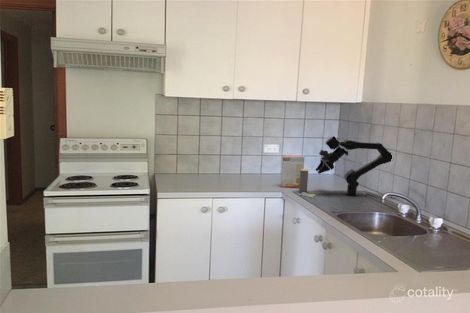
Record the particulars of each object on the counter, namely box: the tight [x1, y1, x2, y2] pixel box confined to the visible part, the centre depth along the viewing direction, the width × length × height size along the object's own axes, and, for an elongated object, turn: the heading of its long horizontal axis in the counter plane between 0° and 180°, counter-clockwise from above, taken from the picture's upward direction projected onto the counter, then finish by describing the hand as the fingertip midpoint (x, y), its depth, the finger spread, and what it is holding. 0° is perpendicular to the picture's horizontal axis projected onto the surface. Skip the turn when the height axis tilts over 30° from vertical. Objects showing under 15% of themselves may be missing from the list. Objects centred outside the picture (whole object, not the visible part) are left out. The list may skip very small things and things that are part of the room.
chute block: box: [298, 168, 309, 193], centre depth 265 cm, size 4×4×14 cm
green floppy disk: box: [299, 192, 316, 198], centre depth 257 cm, size 7×8×1 cm
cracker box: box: [280, 154, 305, 189], centre depth 279 cm, size 14×6×21 cm, turn 92°
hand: (317, 171), depth 264 cm, fingers open, 9 cm apart
